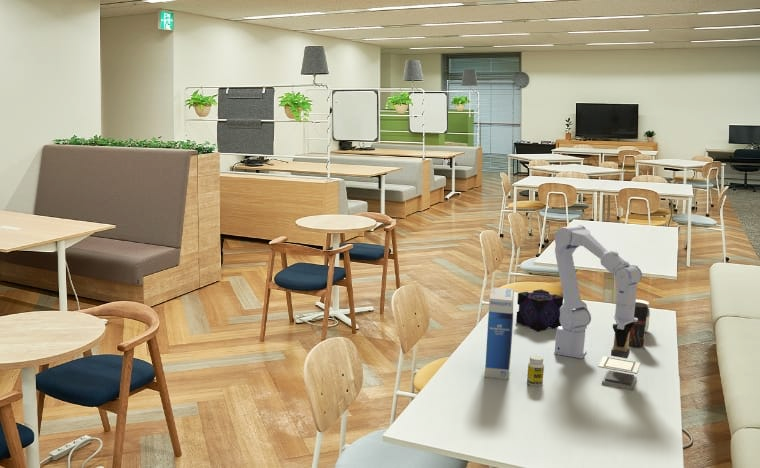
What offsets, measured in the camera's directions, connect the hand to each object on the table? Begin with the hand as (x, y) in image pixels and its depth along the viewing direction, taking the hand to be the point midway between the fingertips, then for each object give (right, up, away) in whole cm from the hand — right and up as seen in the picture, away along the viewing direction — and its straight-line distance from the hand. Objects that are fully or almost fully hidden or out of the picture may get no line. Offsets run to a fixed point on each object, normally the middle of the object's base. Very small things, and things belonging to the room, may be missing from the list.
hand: (621, 344), depth 230 cm
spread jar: (+19, -1, +44) cm, 48 cm away
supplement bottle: (-30, -11, -9) cm, 33 cm away
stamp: (0, -3, +1) cm, 4 cm away
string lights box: (-40, -9, 0) cm, 41 cm away
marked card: (+2, -8, +8) cm, 11 cm away
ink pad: (-3, -11, -6) cm, 13 cm away
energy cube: (-16, 0, +47) cm, 50 cm away
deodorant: (+14, -5, +27) cm, 31 cm away
